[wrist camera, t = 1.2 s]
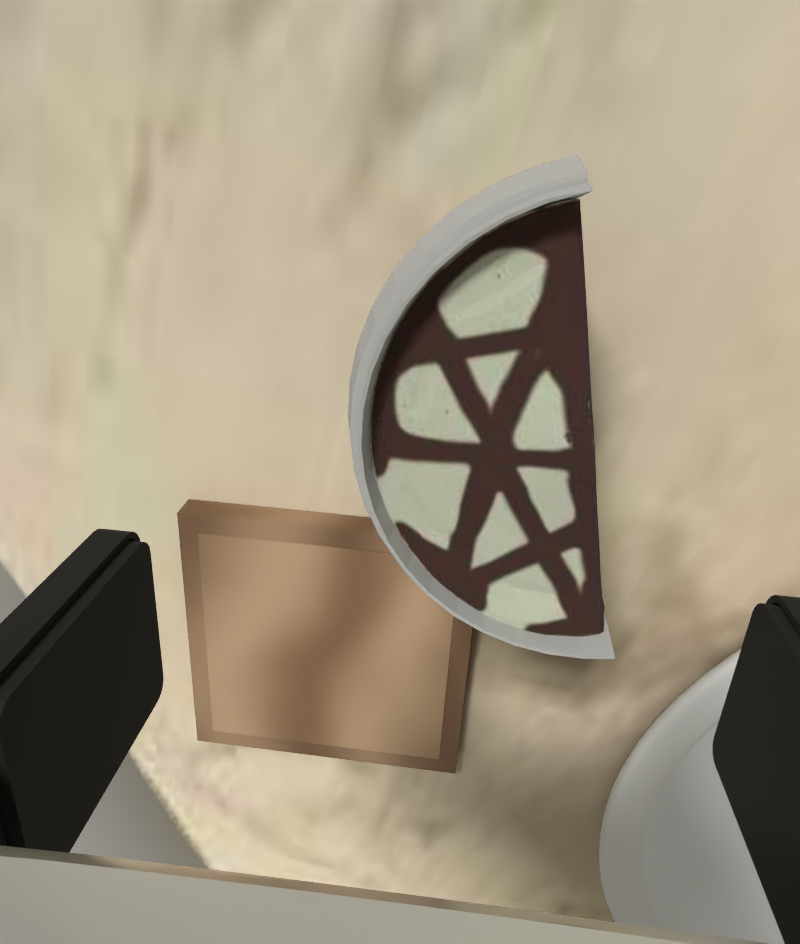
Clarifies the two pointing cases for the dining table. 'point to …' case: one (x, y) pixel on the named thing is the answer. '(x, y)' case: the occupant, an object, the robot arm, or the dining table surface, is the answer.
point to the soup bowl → (682, 829)
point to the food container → (489, 416)
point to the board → (317, 639)
